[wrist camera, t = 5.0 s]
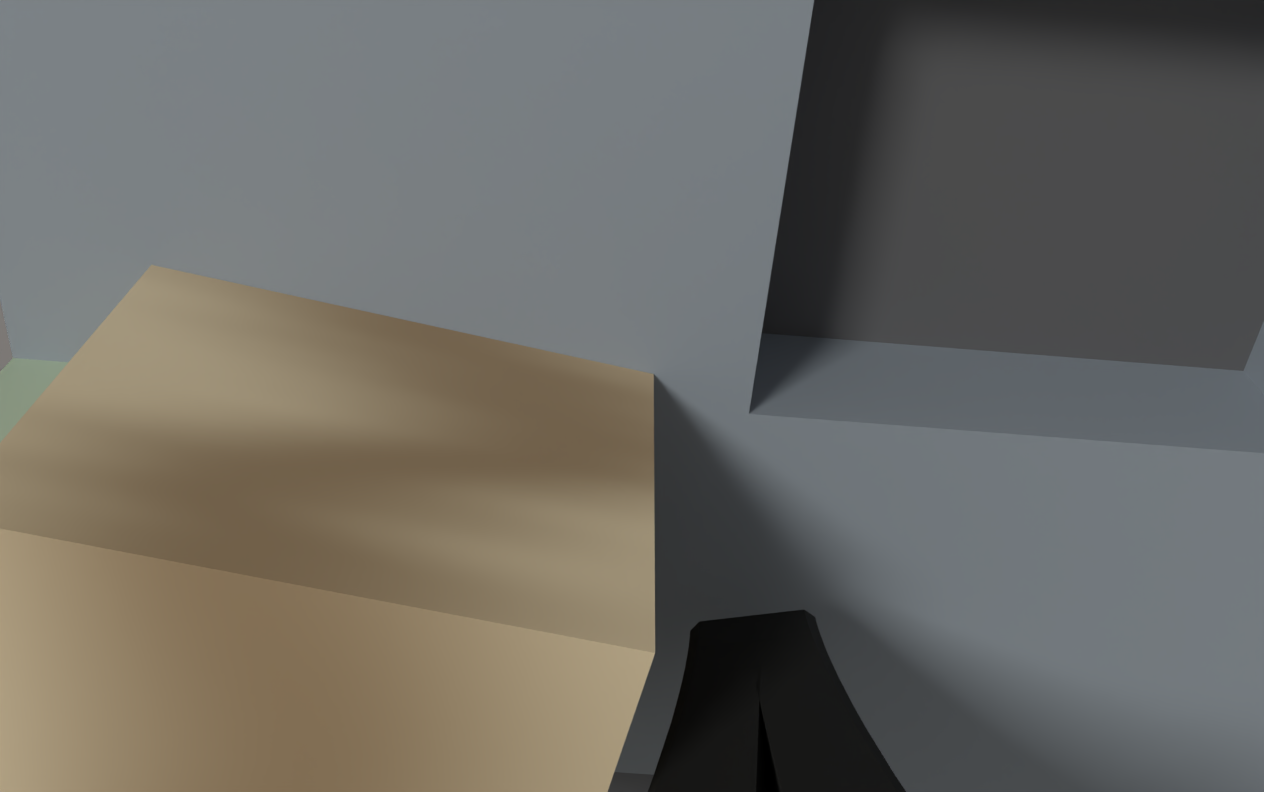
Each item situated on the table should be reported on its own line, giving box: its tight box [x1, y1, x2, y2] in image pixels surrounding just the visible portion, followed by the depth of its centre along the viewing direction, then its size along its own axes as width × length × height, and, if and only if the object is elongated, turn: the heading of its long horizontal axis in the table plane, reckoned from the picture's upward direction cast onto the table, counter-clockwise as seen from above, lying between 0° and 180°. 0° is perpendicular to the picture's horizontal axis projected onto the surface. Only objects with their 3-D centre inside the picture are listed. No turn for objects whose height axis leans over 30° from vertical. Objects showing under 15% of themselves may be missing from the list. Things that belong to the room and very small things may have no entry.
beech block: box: [0, 265, 655, 792], centre depth 11 cm, size 5×5×4 cm
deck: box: [0, 0, 1264, 792], centre depth 14 cm, size 15×16×4 cm
